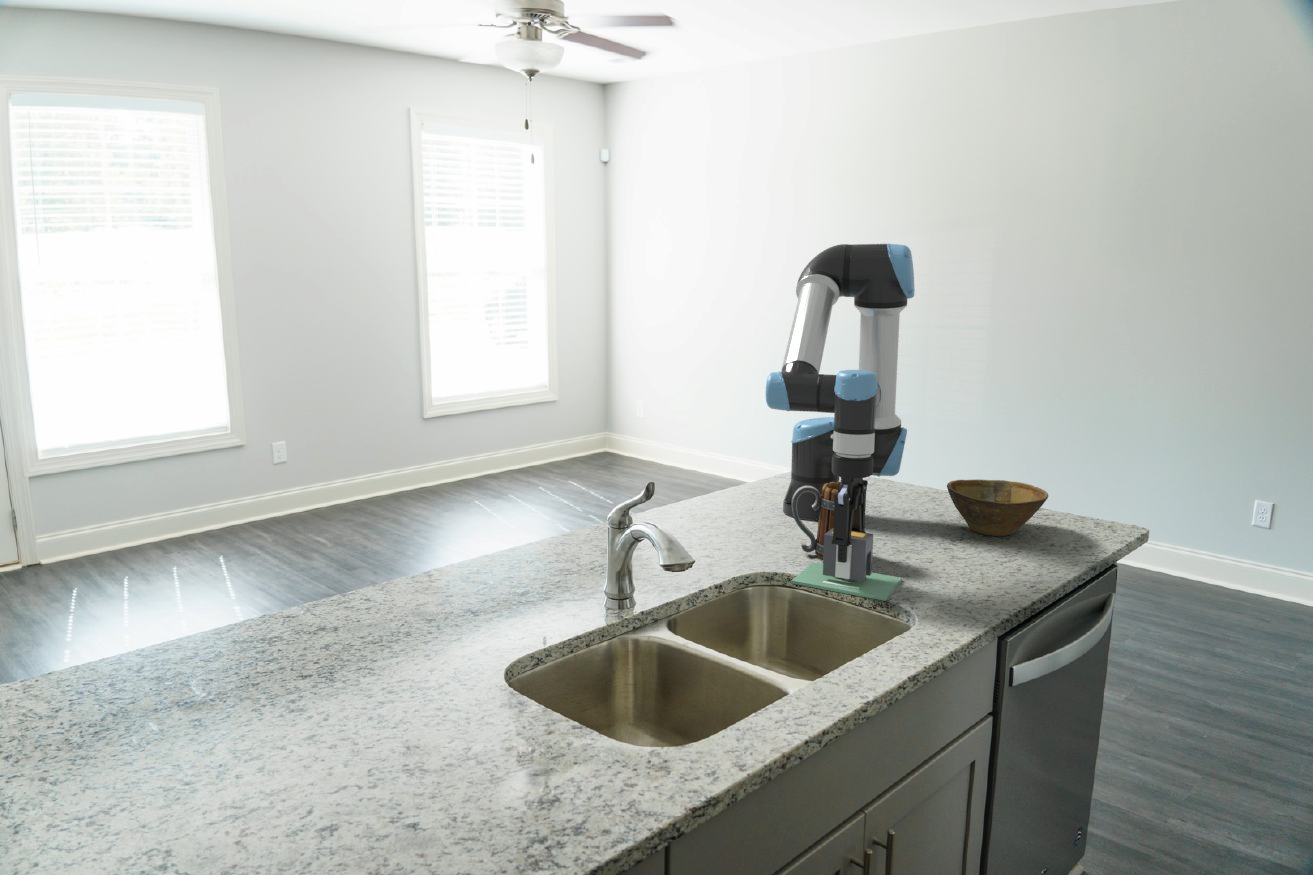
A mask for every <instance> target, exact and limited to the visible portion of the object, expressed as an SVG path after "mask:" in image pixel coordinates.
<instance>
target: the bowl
mask: <svg viewBox="0 0 1313 875" xmlns="http://www.w3.org/2000/svg"><path fill="white" fill-rule="evenodd" d="M946 488H947V491H948V494H949V496H950V499H951V501H952V503H953V505H954V507H955V509H956V510H957V511H958V513H959V514H960V515H961V517H962V518H963V520H964V521H965V522H966V524H967V525H968V528H969V529H970V530H971V531H973V532H974V533H978V534H982V535H986V536H994V537H1004V536H1005V537H1006V536H1010V535H1011V536H1012V535H1013V534H1014V533H1015V532H1016V531H1018V529H1021V527H1022V526H1024V525H1025V524H1026V523H1027V522H1028V521H1029V520H1030V519H1032V518H1033V516H1034V515H1035V514H1036V513H1037V512H1038V511H1039V510H1040V509H1041V508H1042V506H1043V505H1044V503H1046V501H1047V500H1048V498H1049V493H1048V492H1047V491H1046V490H1044V489H1042V488H1040V487H1038V486H1034V485H1032V484H1029V483H1024V482H1019V481H1010V480H1002V479H998V480H997V479H956V480H950V481H949V482H948V483H947V485H946Z"/></svg>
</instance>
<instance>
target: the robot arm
mask: <svg viewBox="0 0 1313 875" xmlns="http://www.w3.org/2000/svg"><path fill="white" fill-rule="evenodd" d="M795 288H796V289H795V294H796V298H797V303H796V308H795V312H794V316H793V320H792V324H791V328H790V332H789V336H788V342H787V345H786V350H785V354H784V359H783V362H782V366H781V371H774V372H770V373H769V375H768V376H767V377H766V378H767V379H766V383H765V402H766V404H767V406H768V408H769V409H772V410H778V411H787V412H811V413H829V414H834V415H833V416H834V417H833V416H832V417H831V416H828V417H827V416H825V417H814V418H808V419H804V420H800V421H798V422H796V424H794V425H793V429H792V439H791V441H790V442H791V469H790V470H791V471H790V472H791V474H790V483H789V485H788V488H787V490H786V494H785V497H784V499H783V502H782V512H783V513H784V514H785V515H787V516H789V517H791V518H792V517H793V518H794V516H793V512H792V498H793V495H794V493H795V492H796V491H797V490H798V489H799V488H800V487H802V486H812V487H814V488H816V489H817V490H818V491H819V493H820V495H822V489H823V486H824V484H826V483H830V482H835V483H836V484H837V482H841V483H840V484H839V486H838V493H837V492H835V493H834V504H835V506H834V527H833V541H832V544H837V546H836V569H835V577H839V578H845V579H850V574H851V553H852V545H850V540H851V532H852V531H857V532H863V531H862V530H864V529H865V530H866V509H867V508H866V505H867V503H866V502H867V490H868V489H867V487H868V480H867V479H866V480H865V479H864V478H869V477H871V476H874V477H879V478H880V477H895V476H896V475H898V474H899V473H900V469H901V464H902V460H903V454H904V449H905V444H906V440H907V435H908V429H907V428H905V427H902V420H901V418H900V417H899V416H898V415H897V414H896V400H897V399H896V398H897V397H896V396H897V378H898V376H897V375H898V357H899V355H898V353H899V338H900V336H899V335H900V334H899V332H900V331H899V330H900V316H901V315H900V314H901V312H903V310H905V309H906V308H907V306H908V299H909V300H910V299H912V298H914V297H915V293H916V292H915V273H914V263H913V255H912V251H911V249H910V247H908V246H907V245H905V244H895V243H894V244H893V243H864V244H863V243H862V244H861V243H859V244H858V243H857V244H856V243H855V244H849V243H845V244H843V243H842V244H841V243H840V244H835V245H833V246H830V247H828V248H826V249H825V250H822V251H821V252H818V254H816V255H815V257H813V258H812V259H811V260H810V261H809V262H808V263H807V264H806V265H805V267H804V268H803V270H802V271H801V273H800V275H799V277H798V280H797V283H796V287H795ZM842 297H845V298H854V299H853V300H854V301H853V302H854V304H853V306H854V308H856V310H858V311H859V314H860V320H859V323H860V324H859V328H860V329H859V348H858V350H859V352H858V353H859V355H858V369H846V370H845V369H844V370H840V371H838V372H837V374H824V373H821V374H820V370H821V365H822V361H823V356H824V350H825V346H826V340H827V335H828V332H829V325H830V320H831V316H832V311H833V306H834V305H835V304H836V303H837V302H838V300H839V299H840V298H842ZM815 501H816V496H815V494H813V493H811V492H805V493H803V494H801V495H800V497H799V499H798V502H797V511H798V516H799V518H800V520H809V521H819V514H820V507H819V508H818V509H817V510H816V511H815V510H814V509H813V508H812V505H813V504H814V503H815ZM864 533H867V532H866V531H865V532H864Z"/></svg>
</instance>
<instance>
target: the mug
mask: <svg viewBox="0 0 1313 875" xmlns="http://www.w3.org/2000/svg"><path fill="white" fill-rule="evenodd" d="M840 483H841V481H839V482H837V484H836V483H835V482H830V483H826V484H824V486H823V489H822V495H820V493H819V491H818V490H817V489H816V488H814V487H812V486H802V487H800V488H799V489H798V490H797V491H796V492H795V493H794V495H793V498H792V512H793V516H794V517H793V519H794V522H795V523H796V525H797V526H798V528H799V529H800V530H801V531H802V532H803V533H804V535H806V536H807V537H808V538H809V540H810V544H809V545H807V542H800V546H801V548H802V551H804V552H805V553H812V552H813V551H814V554H815V555H816V556H817V557H818V558H820V559H821V560H823V556H824V534H826V533H827V532H828V531H829V530H831V529H832V528H833V527H834V506H835V504H834V493H835V492H837V493H838V486H839V484H840ZM805 492H811V493H813V494H815V496H816V501H815V503H814V504H813V505H812V508H813V509H814V510H815V511H816V510H817V509H818V508H819V507H820V514H819V520H818V524H817V530H816V531H817V532H816V534H817V535H816V537H815V535H814V533H813V532H812V531H811V530H810V529H809V528H808V527H807V526H806V525H805V524H804V523H803V521H802V519H800V518H799V516H798V511H797V502H798V499H799V497H800V495H801V494H803V493H805ZM865 530H866V528H865V529H864V530H862V531H863V532H866V531H865Z"/></svg>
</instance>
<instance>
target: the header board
mask: <svg viewBox="0 0 1313 875" xmlns="http://www.w3.org/2000/svg"><path fill="white" fill-rule="evenodd" d="M902 582H903V577H899V576H894V575H893V576H892V575H888V574H883V573H882V574H881V573H875V572H872V574H871V575H870V576H868V575H866V581H865V582H861V581H855V580H849V579H844V578H838V577H832V576H826V575H823V563H816V562H812V563H810V564H809V565H808V566H807V567H806V568H804V569H803V570H802V571H801V572H800V573H799V574H797V575H796V576H795V577H793V579H791V581H790V584H792V585H797V586H802V587H807V588H808V587H809V588H814V589H819V590H823V591H825V590H826V591H830V592H837V593H841V594H846V595H851V596H857V597H862V598H868V599H875V600H879V601H884V602H886V601H887V600H888V599H889V598H890V596H891V595H892V594H893V592H894V591H895V590H896V589H897V587H898V586H899V585H900V584H901V583H902Z"/></svg>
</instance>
